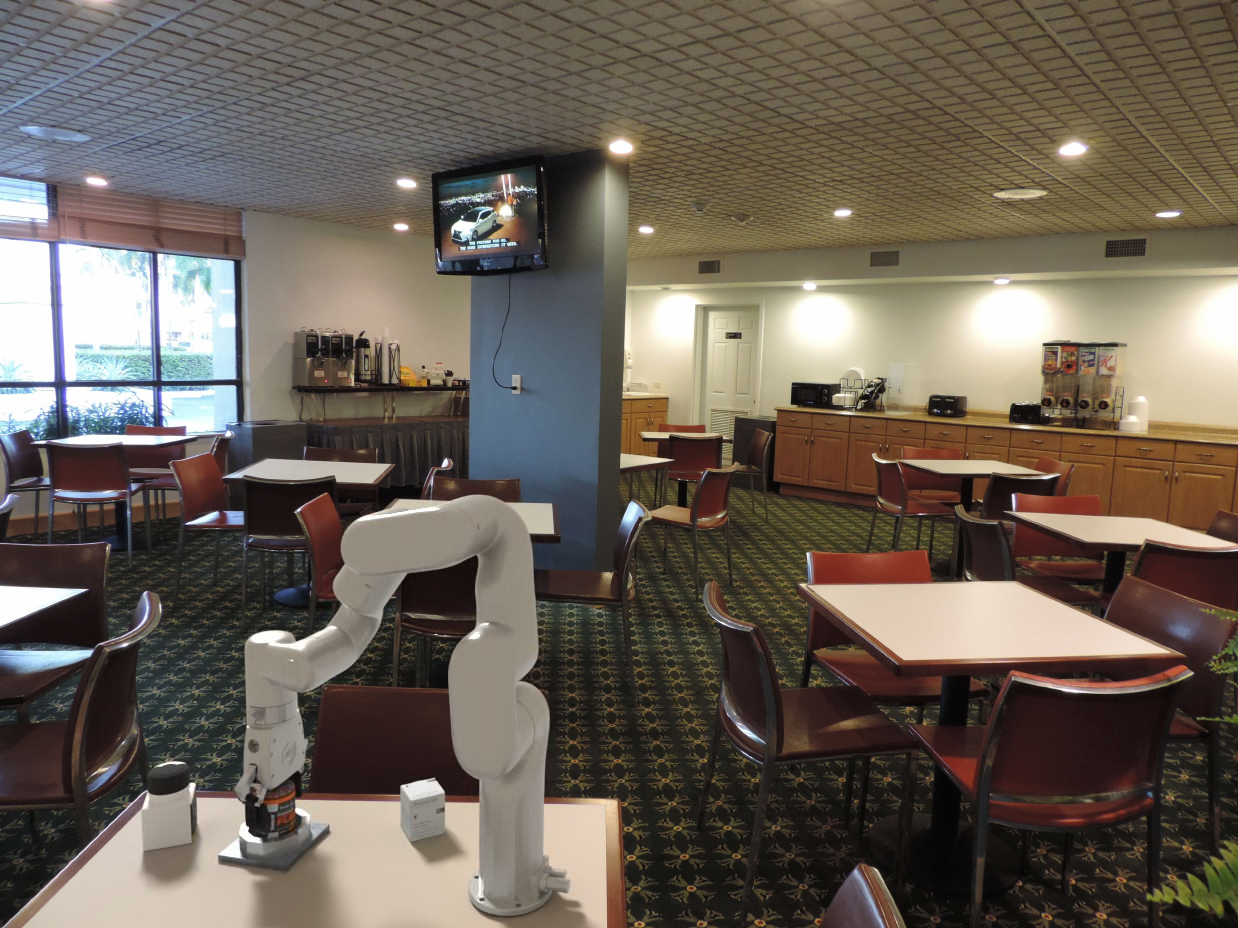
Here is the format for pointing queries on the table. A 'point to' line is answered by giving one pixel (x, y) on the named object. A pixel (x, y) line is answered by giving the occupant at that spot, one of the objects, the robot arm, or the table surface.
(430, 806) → the skincare box
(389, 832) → the table surface
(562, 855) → the table surface
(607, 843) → the table surface
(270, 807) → the supplement bottle
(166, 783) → the medicine bottle
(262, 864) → the ring plate
